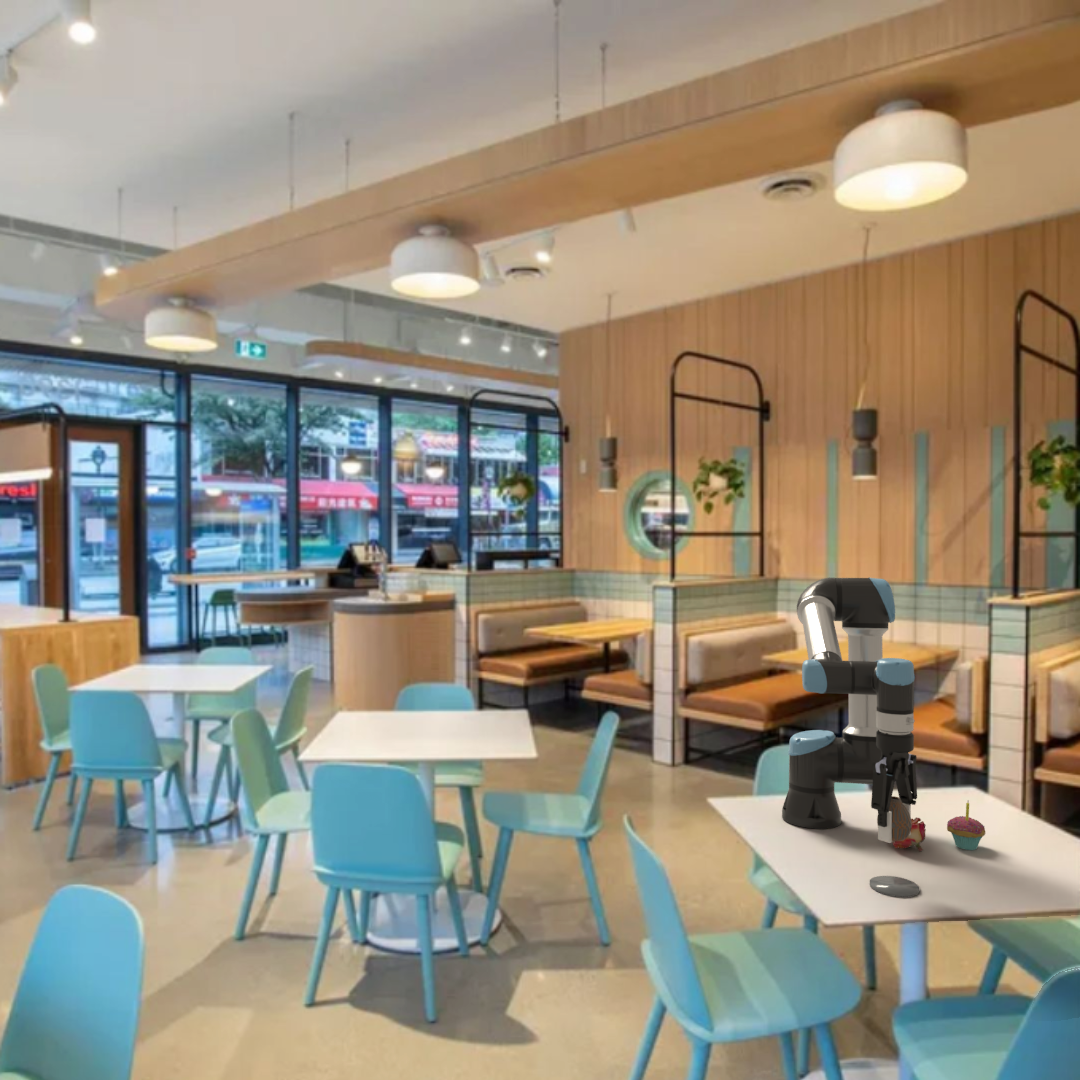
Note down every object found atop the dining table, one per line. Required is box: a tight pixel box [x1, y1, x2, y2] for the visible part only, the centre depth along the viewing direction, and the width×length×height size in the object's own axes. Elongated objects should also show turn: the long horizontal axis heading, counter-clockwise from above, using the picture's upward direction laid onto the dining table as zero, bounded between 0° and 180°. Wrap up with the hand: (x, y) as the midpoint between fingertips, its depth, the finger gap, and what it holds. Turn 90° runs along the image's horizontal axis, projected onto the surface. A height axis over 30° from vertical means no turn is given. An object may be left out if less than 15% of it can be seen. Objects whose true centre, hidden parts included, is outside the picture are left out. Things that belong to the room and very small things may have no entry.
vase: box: [876, 795, 912, 842], centre depth 190 cm, size 7×7×9 cm
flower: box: [892, 817, 927, 852], centre depth 213 cm, size 10×9×8 cm
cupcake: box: [946, 799, 986, 851], centre depth 215 cm, size 9×8×12 cm
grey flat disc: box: [869, 875, 920, 898], centre depth 190 cm, size 10×10×1 cm
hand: (894, 836), depth 190 cm, fingers closed on vase, 7 cm apart
